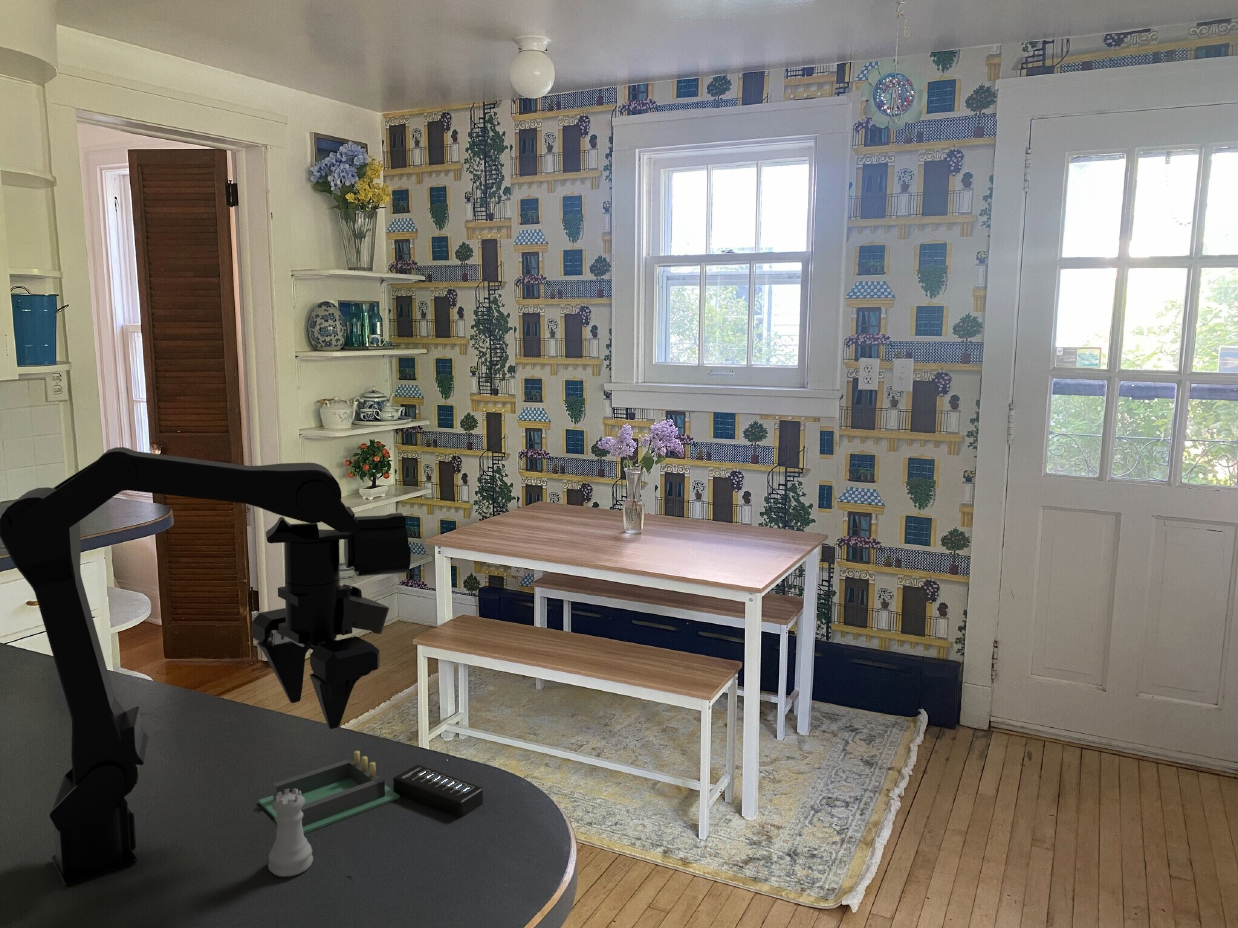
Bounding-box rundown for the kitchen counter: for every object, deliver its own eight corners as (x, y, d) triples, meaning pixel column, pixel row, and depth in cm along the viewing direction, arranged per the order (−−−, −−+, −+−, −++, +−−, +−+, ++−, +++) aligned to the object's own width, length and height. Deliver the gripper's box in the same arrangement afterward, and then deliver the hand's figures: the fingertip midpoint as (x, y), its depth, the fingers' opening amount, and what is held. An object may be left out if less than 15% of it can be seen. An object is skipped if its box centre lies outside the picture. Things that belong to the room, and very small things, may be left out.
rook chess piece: (258, 870, 93) (255, 798, 92) (292, 849, 97) (289, 779, 96) (289, 883, 91) (286, 809, 90) (322, 861, 95) (320, 790, 94)
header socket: (294, 837, 100) (292, 804, 99) (258, 802, 107) (257, 771, 106) (399, 797, 108) (399, 767, 108) (360, 768, 116) (359, 739, 115)
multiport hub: (459, 821, 104) (459, 802, 104) (391, 794, 110) (391, 777, 110) (484, 805, 108) (484, 787, 107) (417, 780, 114) (417, 763, 113)
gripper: (422, 584, 98) (422, 721, 100) (338, 552, 111) (339, 674, 113) (327, 603, 90) (328, 750, 93) (248, 566, 103) (251, 696, 106)
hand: (314, 714), depth 101 cm, fingers open, 9 cm apart
